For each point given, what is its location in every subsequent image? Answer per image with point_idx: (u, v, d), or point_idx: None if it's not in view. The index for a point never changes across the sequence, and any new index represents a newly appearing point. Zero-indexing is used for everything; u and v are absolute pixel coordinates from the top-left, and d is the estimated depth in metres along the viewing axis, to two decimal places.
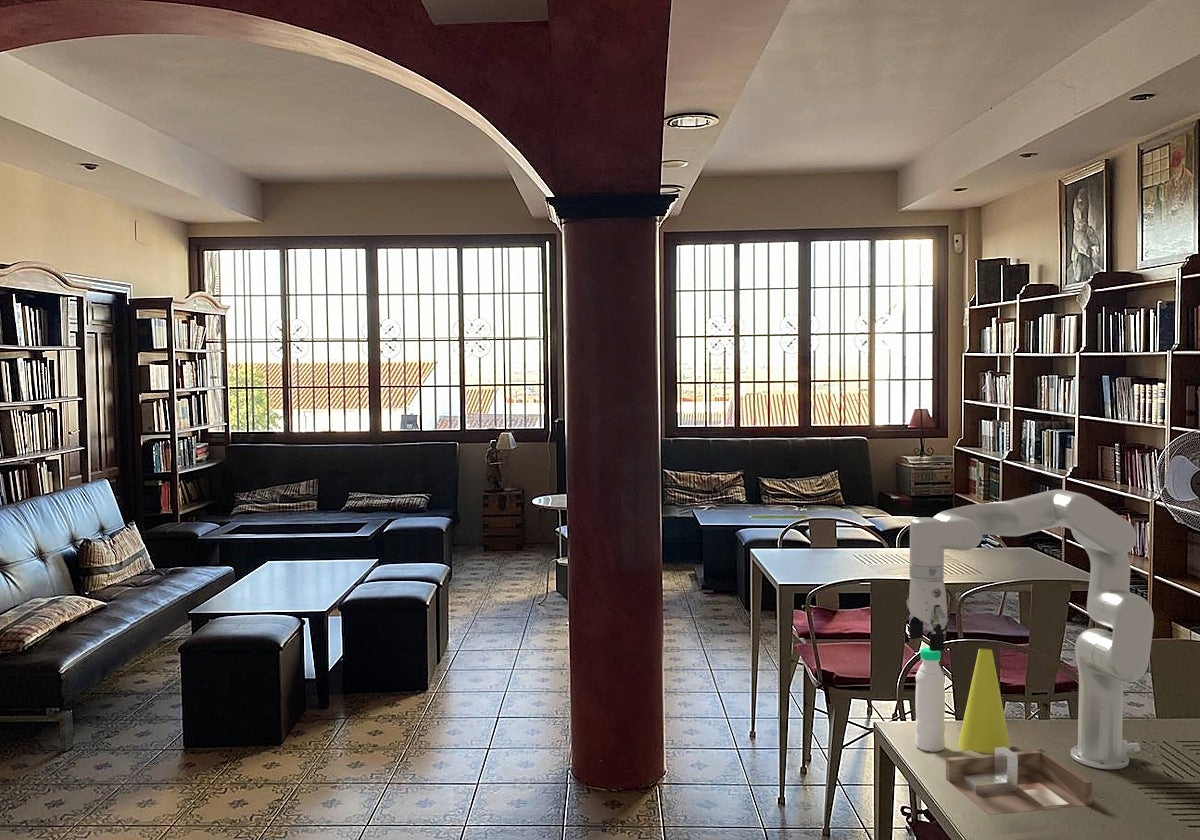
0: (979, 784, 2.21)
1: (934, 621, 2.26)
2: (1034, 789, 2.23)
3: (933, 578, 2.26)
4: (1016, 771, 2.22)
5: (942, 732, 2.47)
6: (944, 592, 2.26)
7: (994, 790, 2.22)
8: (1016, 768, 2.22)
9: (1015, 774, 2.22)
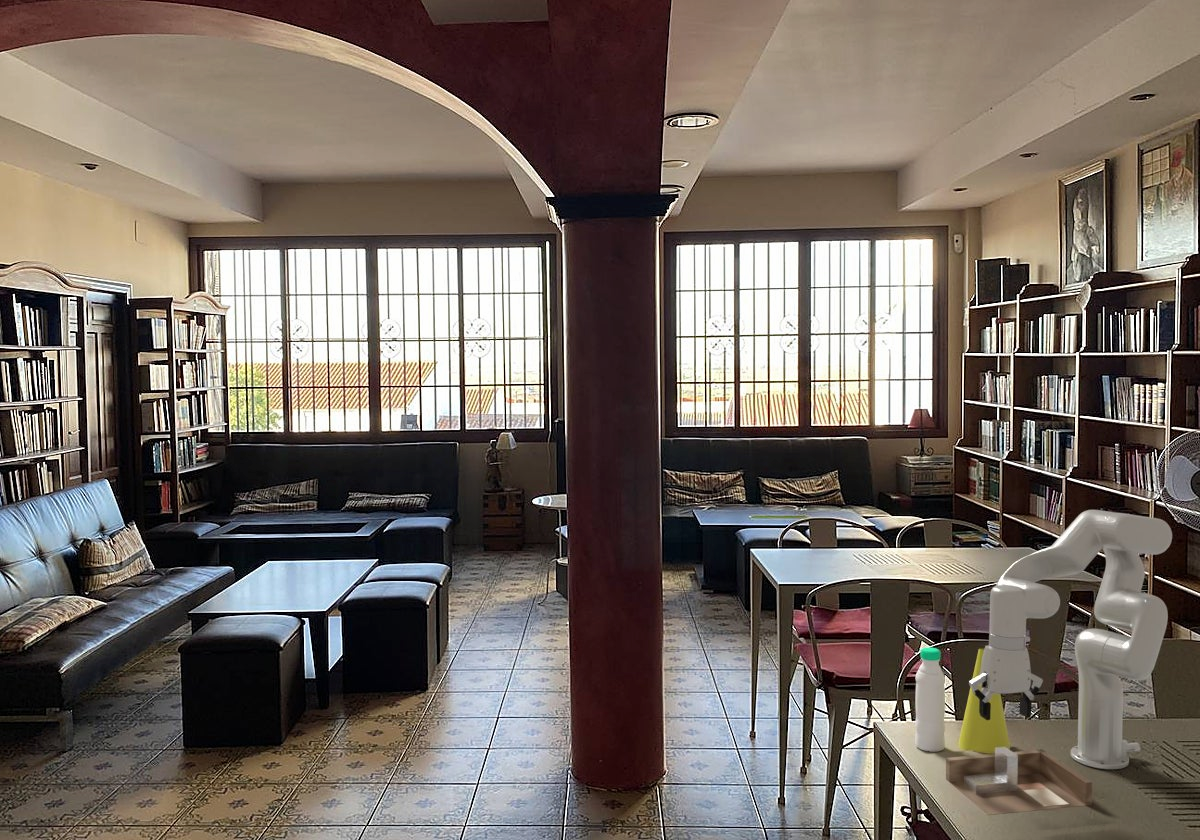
0: (979, 784, 2.21)
1: None
2: (1034, 789, 2.23)
3: None
4: (1016, 771, 2.22)
5: (942, 732, 2.47)
6: None
7: (994, 790, 2.22)
8: (1016, 768, 2.22)
9: (1015, 774, 2.22)
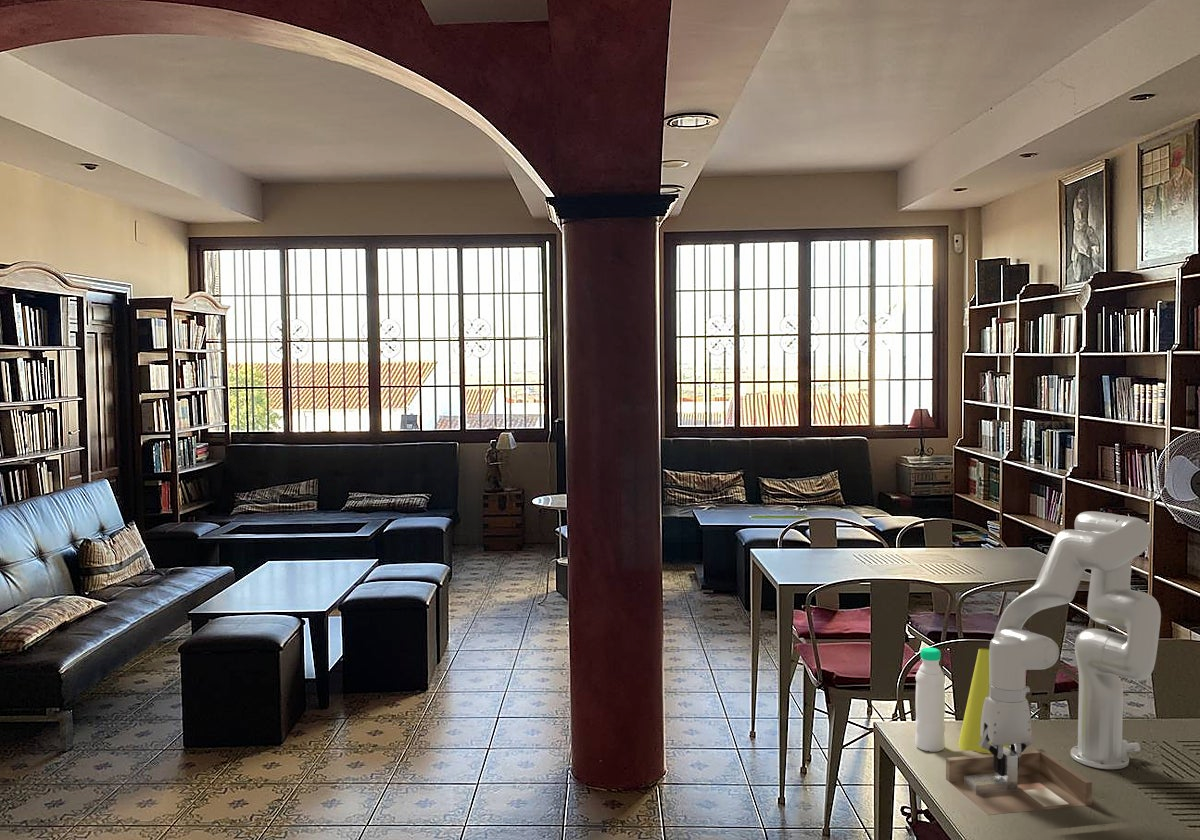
0: (979, 784, 2.21)
1: None
2: (1034, 789, 2.23)
3: None
4: (1016, 771, 2.22)
5: (942, 732, 2.47)
6: None
7: (994, 790, 2.22)
8: (1016, 768, 2.22)
9: (1015, 774, 2.22)
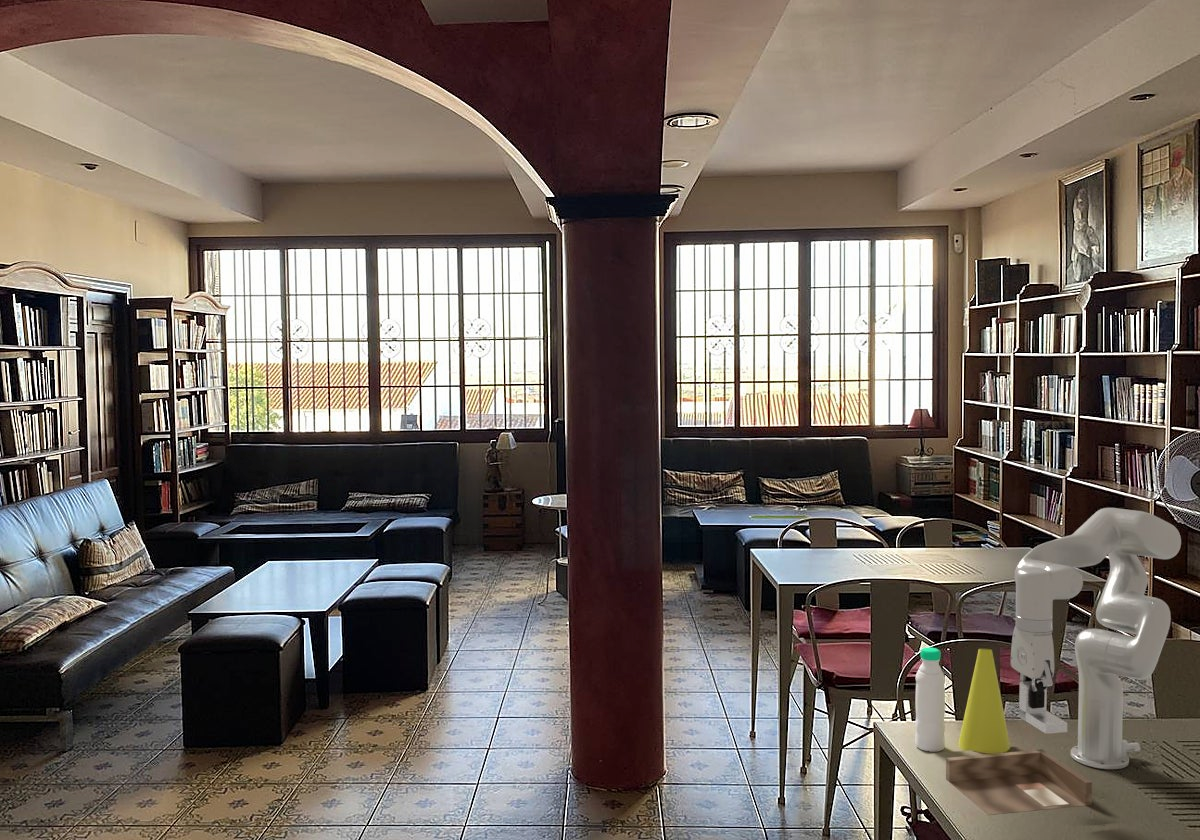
0: (1062, 721, 2.16)
1: None
2: (1034, 789, 2.23)
3: None
4: None
5: (942, 732, 2.47)
6: None
7: None
8: None
9: None
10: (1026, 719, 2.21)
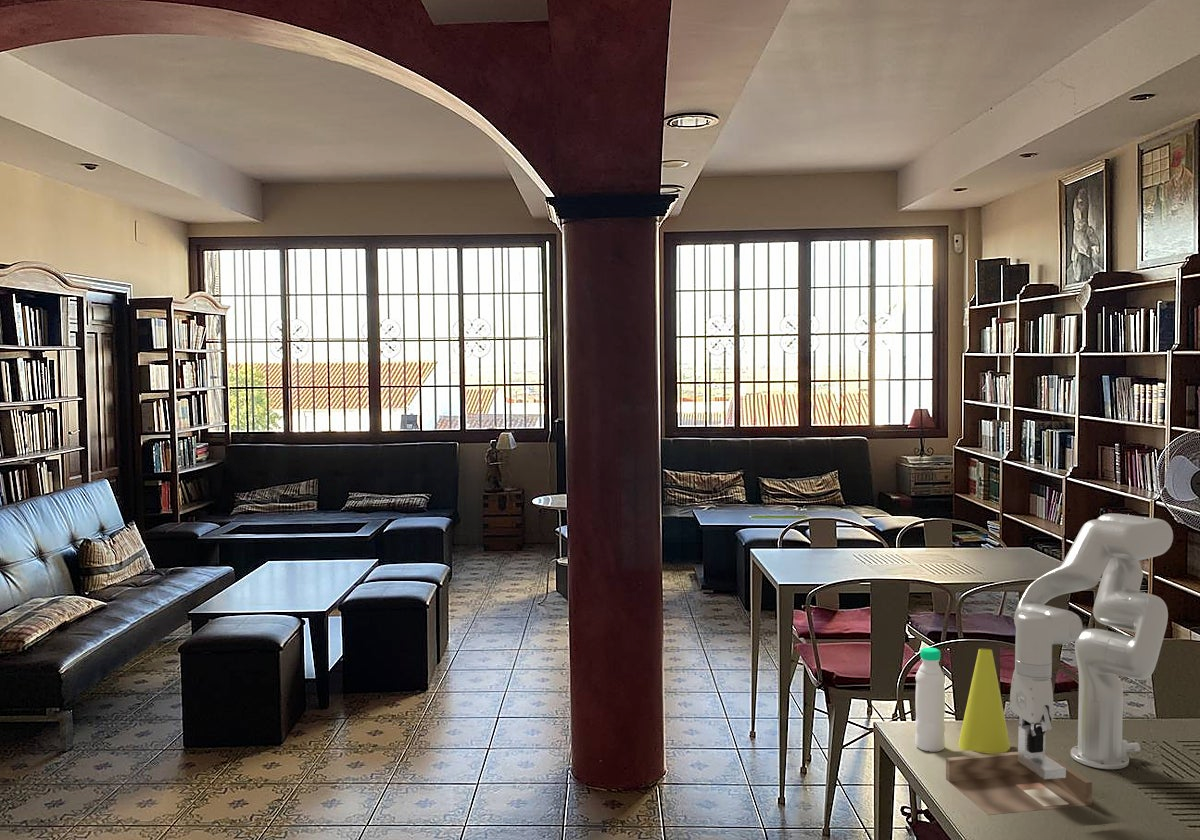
0: (1061, 766, 2.16)
1: None
2: (1034, 789, 2.23)
3: None
4: None
5: (942, 732, 2.47)
6: None
7: None
8: None
9: None
10: (1025, 763, 2.21)
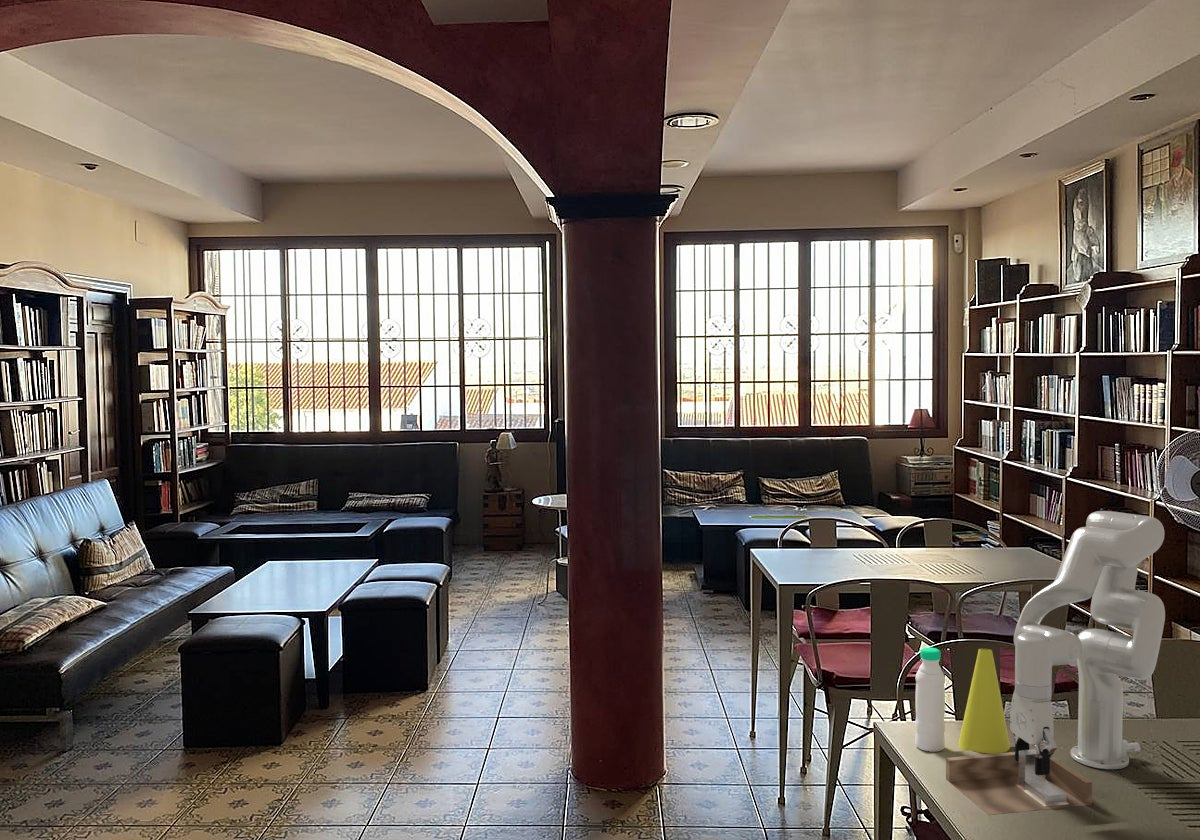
0: (1061, 791, 2.17)
1: None
2: None
3: None
4: None
5: (942, 732, 2.47)
6: None
7: None
8: None
9: None
10: (1025, 788, 2.22)
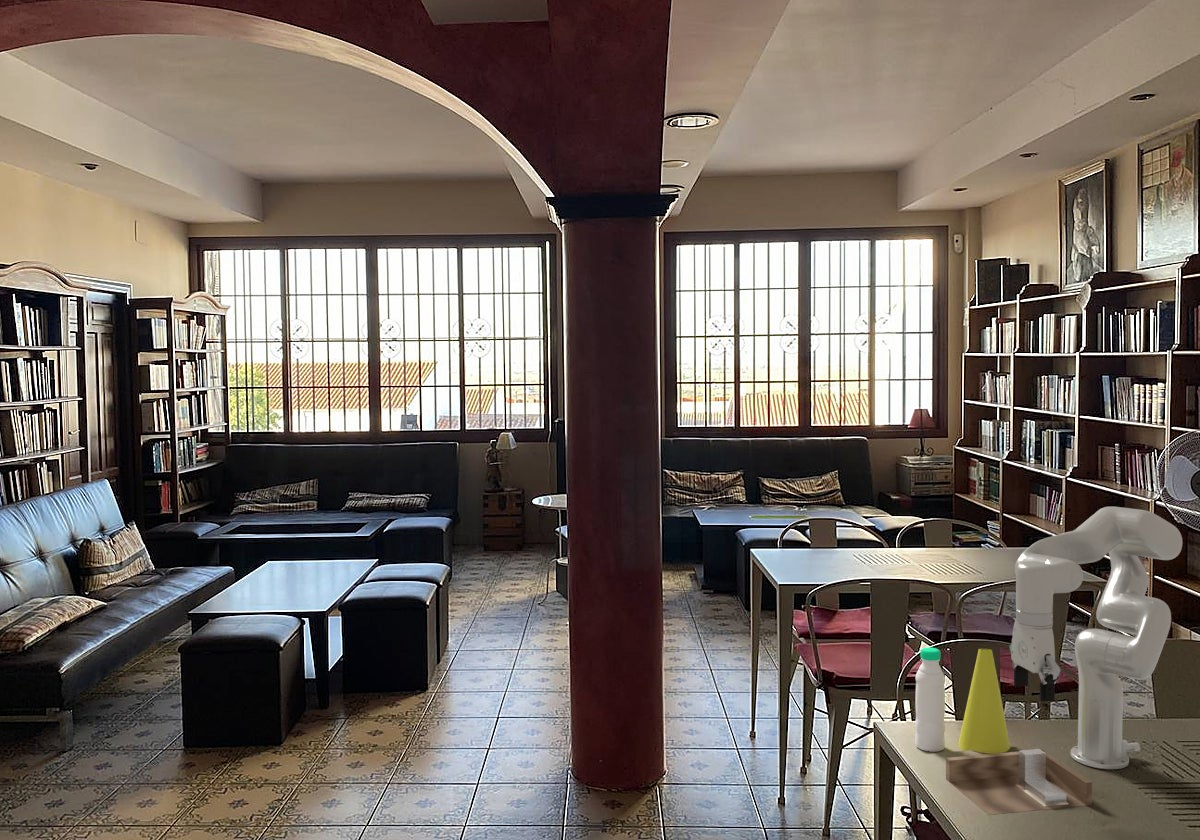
0: (1061, 791, 2.17)
1: None
2: None
3: None
4: None
5: (942, 732, 2.47)
6: None
7: None
8: None
9: None
10: (1025, 788, 2.22)
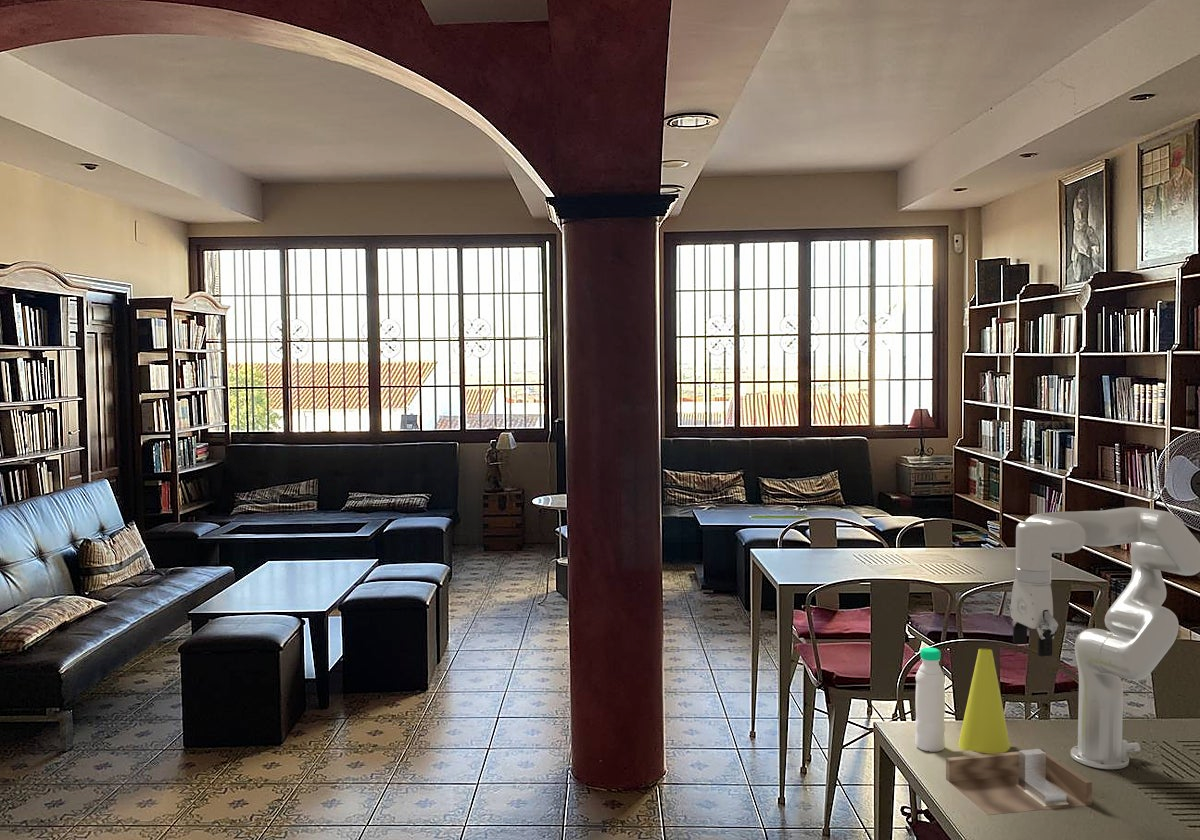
0: (1061, 791, 2.17)
1: None
2: None
3: None
4: None
5: (942, 732, 2.47)
6: None
7: None
8: None
9: None
10: (1025, 788, 2.22)
